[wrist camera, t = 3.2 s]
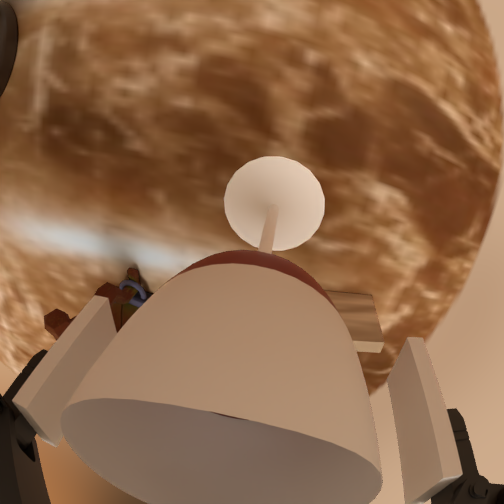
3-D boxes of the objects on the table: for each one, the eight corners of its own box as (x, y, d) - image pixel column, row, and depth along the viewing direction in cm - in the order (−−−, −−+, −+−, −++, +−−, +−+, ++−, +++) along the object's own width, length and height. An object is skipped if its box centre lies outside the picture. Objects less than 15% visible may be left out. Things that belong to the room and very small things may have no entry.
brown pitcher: (87, 224, 31) (-7, 307, 17) (188, 241, 30) (116, 356, 17) (109, 345, 39) (58, 430, 26) (188, 366, 39) (152, 467, 26)
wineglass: (218, 249, 30) (111, 494, 10) (225, 141, 25) (4, 340, 5) (315, 264, 29) (320, 533, 9) (337, 157, 24) (461, 424, 4)
